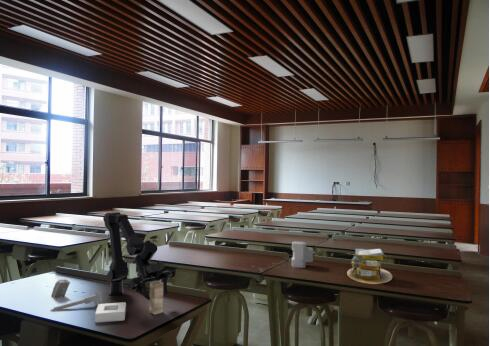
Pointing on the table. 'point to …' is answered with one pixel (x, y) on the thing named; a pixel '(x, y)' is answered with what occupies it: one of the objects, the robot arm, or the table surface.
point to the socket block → (110, 312)
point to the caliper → (85, 300)
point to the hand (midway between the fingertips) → (158, 297)
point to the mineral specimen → (60, 288)
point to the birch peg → (156, 297)
